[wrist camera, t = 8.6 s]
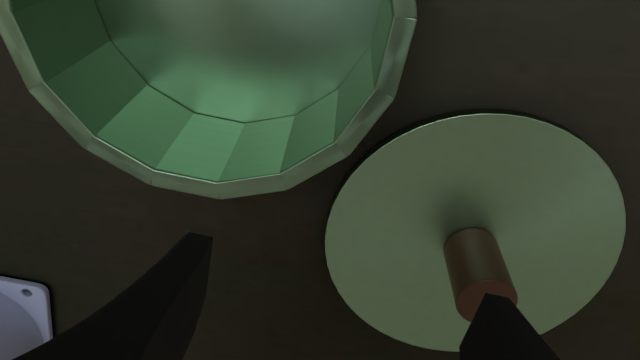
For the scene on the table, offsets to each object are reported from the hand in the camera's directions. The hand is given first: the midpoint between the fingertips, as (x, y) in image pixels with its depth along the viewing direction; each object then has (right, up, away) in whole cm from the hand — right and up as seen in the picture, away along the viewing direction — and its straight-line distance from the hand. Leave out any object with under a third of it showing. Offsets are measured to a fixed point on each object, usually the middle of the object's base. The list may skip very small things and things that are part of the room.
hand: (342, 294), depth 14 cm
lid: (+6, 0, +11) cm, 12 cm away
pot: (-4, +10, +6) cm, 13 cm away
